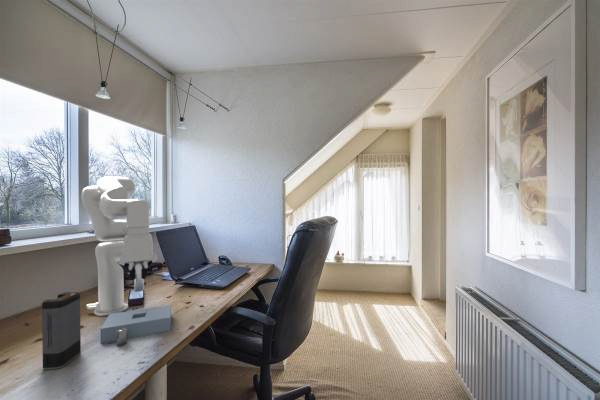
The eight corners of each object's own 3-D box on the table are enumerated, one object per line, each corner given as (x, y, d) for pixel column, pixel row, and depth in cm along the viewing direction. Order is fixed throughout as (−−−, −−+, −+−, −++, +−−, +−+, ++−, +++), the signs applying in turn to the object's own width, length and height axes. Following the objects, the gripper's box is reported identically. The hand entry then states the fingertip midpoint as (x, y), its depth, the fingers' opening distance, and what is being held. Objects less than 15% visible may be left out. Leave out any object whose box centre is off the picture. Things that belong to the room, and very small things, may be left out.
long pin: (133, 292, 105) (133, 258, 105) (135, 289, 108) (134, 256, 108) (143, 291, 106) (142, 257, 106) (144, 288, 109) (143, 255, 109)
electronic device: (63, 353, 90) (63, 292, 90) (83, 352, 91) (82, 291, 91) (39, 370, 81) (38, 302, 81) (61, 369, 81) (60, 301, 81)
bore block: (100, 343, 96) (100, 328, 96) (109, 326, 109) (109, 313, 109) (170, 330, 105) (169, 317, 105) (171, 316, 118) (170, 304, 118)
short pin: (115, 347, 93) (115, 332, 93) (117, 343, 96) (117, 328, 96) (126, 345, 94) (126, 330, 94) (128, 341, 97) (127, 326, 97)
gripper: (110, 233, 100) (111, 284, 100) (161, 231, 107) (162, 278, 107) (115, 231, 107) (115, 279, 107) (162, 229, 114) (163, 274, 114)
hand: (139, 278), depth 107 cm, fingers closed on long pin, 3 cm apart
